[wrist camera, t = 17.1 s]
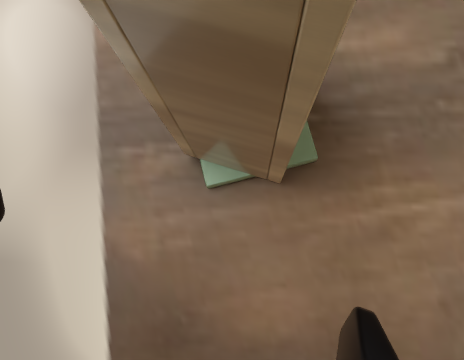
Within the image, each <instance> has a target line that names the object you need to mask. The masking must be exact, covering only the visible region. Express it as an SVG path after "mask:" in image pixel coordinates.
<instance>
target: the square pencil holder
mask: <svg viewBox="0 0 464 360" xmlns="http://www.w3.org/2000/svg"><path fill="white" fill-rule="evenodd" d="M79 1H80V2H81V4H82V5H83V7H84V8H85V9H86V11H87V13H88V14H89V15H90V17H91V18H92V20H93V21H94V23H95V24H96V26H97V27H98V29H99V30H100V32H101V33H102V34H103V36H104V37H105V39H106V40H107V42H108V43H109V45H110V46H111V48H112V49H113V50H114V52H115V53H116V55H117V56H118V58H119V59H120V61H121V62H122V64H123V65H124V66H125V68H126V69H127V71H128V72H129V74H130V75H131V77H132V78H133V80H134V81H135V82H136V84H137V85H138V87H139V88H140V90H141V91H142V93H143V94H144V96H145V97H146V98H147V100H148V101H149V103H150V104H151V106H152V107H153V109H154V110H155V112H156V113H157V114H158V116H159V117H160V119H161V120H162V122H163V123H164V125H165V126H166V128H167V129H168V130H169V132H170V133H171V135H172V136H173V138H174V139H175V141H176V142H177V144H178V145H179V146H180V148H181V149H182V151H183V152H184V154H186V155H189V156H193V157H197V158H199V159H202V160H205V161H208V162H212V163H215V164H218V165H221V166H225V167H228V168H231V169H234V170H238V171H241V172H244V173H247V174H250V175H254V176H257V177H260V178H263V179H268V180H270V181H273V182H277V183H280V182H281V180H282V178H283V176H284V173H285V171H286V168H287V166H288V164H289V161H290V159H291V156H292V154H293V152H294V149H295V147H296V144H297V142H298V140H299V137H300V135H301V132H302V130H303V128H304V125H305V123H306V121H307V118H308V116H309V113H310V111H311V109H312V106H313V104H314V101H315V99H316V97H317V94H318V92H319V89H320V87H321V85H322V82H323V80H324V77H325V75H326V73H327V70H328V68H329V65H330V63H331V61H332V58H333V56H334V54H335V51H336V49H337V46H338V44H339V42H340V39H341V37H342V34H343V32H344V30H345V27H346V25H347V22H348V20H349V18H350V15H351V13H352V10H353V8H354V6H355V3H356V1H357V0H79Z"/></svg>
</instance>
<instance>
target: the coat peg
mask: <svg viewBox="0 0 464 360" xmlns="http://www.w3.org/2000/svg"><path fill="white" fill-rule="evenodd" d="M317 159H318V156H317V152H316V149H315V146H314V142H313V139H312V136H311V132H310V129H309V126H308V122H307V121H306V123H305V125H304V128H303V130H302V132H301V135H300V137H299V140H298V142H297V144H296V147H295V149H294V152H293V154H292V156H291V159H290V161H289V164H288V166H287V168H291V167H295V166H299V165H303V164H307V163H311V162H315V161H316V160H317ZM200 162H201V167H202V171H203V175H204V179H205V183H206V186H207V188H213V187H216V186H220V185H224V184H228V183H232V182H236V181H240V180H244V179H248V178H252V177H256V176H254V175H250V174H247V173H244V172H241V171H238V170H234V169H231V168H228V167H225V166H221V165H218V164H215V163H212V162H208V161H205V160H202V159H200ZM287 168H286V169H287Z"/></svg>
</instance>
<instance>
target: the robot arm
mask: <svg viewBox="0 0 464 360" xmlns="http://www.w3.org/2000/svg"><path fill="white" fill-rule="evenodd" d="M4 213H5V208H4V203H3V198H2V193H1V190H0V221H1V220H2V218H3V216H4ZM336 360H399V359H398V357H397V355H396V353H395V351H394V349H393V347H392V345H391V344H390V342H389V340H388V338H387V336H386V334H385V332H384V330H383V328H382V326H381V324H380V322H379V320H378V318H377V316H376V315H375V314H374V312H372V311H370V310H367V309H364V308H361V307H355V308H354V309H353V310H352V312H351V313H350V315H349V317H348V318H347V320H346V322H345V323H344V325H343V327H342V329H341V332H340V337H339V344H338V351H337V358H336Z"/></svg>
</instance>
